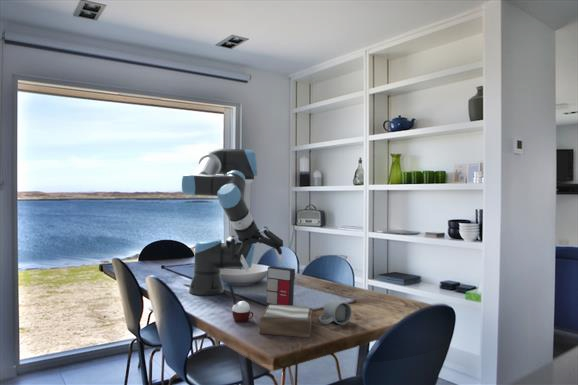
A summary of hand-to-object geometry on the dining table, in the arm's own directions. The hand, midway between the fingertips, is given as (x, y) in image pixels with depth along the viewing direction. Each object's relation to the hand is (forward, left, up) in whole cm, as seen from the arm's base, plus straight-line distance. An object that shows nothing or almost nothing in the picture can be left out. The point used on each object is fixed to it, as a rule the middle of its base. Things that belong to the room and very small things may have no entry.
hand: (264, 264), depth 156 cm
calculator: (-12, +5, -18) cm, 22 cm away
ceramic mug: (+7, +27, -18) cm, 33 cm away
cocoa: (+12, -6, -18) cm, 23 cm away
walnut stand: (+17, +11, -18) cm, 27 cm away
